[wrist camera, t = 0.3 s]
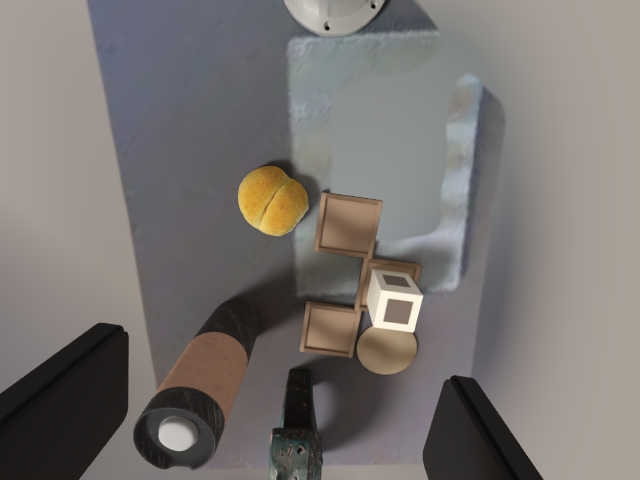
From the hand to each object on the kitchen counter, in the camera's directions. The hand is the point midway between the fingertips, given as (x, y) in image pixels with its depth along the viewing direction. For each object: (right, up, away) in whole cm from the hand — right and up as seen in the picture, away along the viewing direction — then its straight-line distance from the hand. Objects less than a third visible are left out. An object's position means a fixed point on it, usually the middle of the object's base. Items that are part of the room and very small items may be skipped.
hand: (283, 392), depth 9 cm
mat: (+11, -12, +39) cm, 42 cm away
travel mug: (-11, -8, +38) cm, 40 cm away
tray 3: (+11, -2, +36) cm, 37 cm away
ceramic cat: (-2, -24, +42) cm, 49 cm away
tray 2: (+2, -9, +38) cm, 39 cm away
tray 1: (+5, +6, +33) cm, 34 cm away
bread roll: (-5, +10, +33) cm, 35 cm away
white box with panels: (+11, -2, +35) cm, 37 cm away
